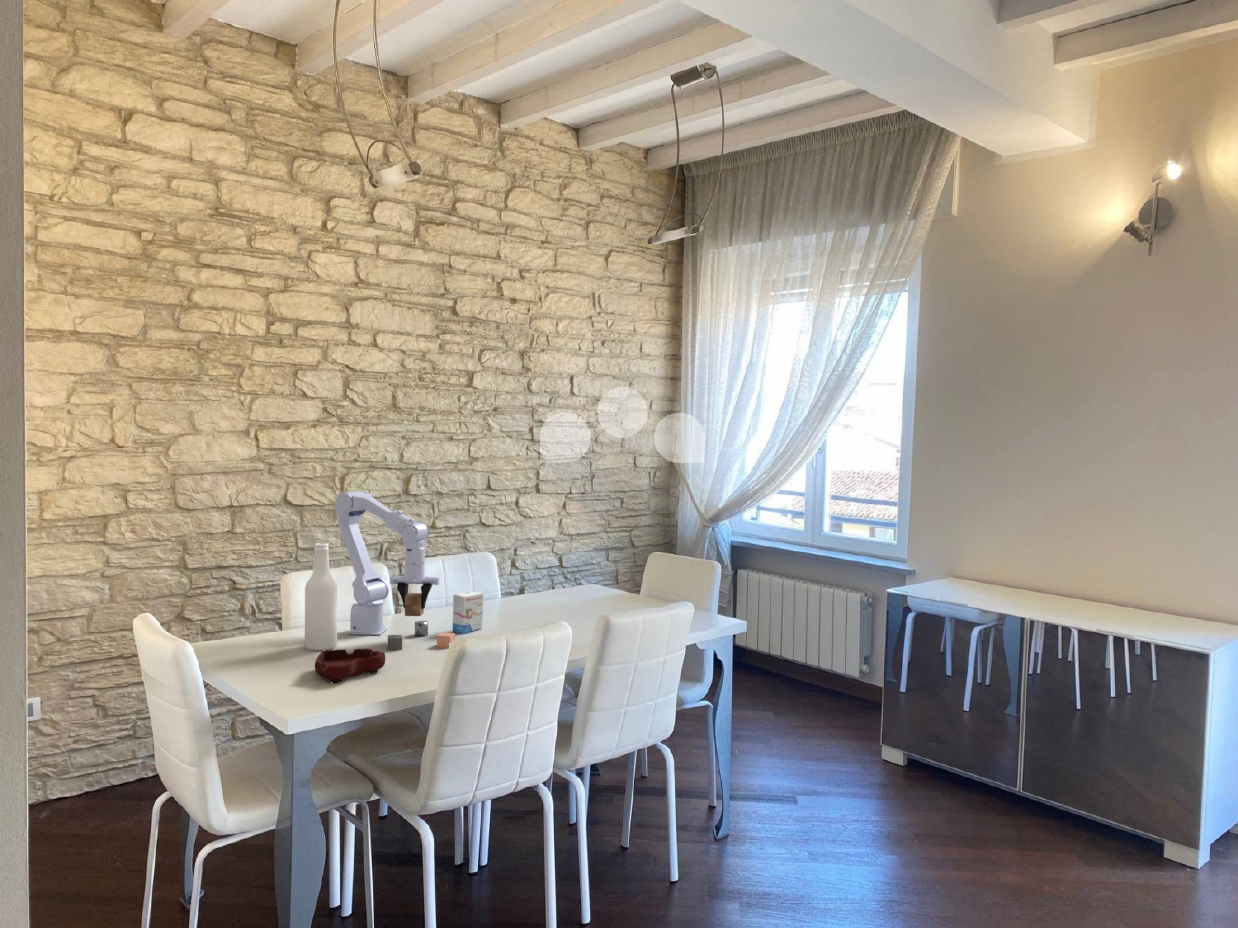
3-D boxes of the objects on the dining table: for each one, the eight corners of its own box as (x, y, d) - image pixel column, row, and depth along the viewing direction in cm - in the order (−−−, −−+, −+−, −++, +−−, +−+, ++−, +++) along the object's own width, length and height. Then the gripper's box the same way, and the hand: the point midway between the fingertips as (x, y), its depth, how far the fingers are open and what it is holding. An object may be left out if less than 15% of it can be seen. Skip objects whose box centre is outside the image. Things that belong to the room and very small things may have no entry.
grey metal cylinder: (413, 636, 270) (413, 623, 270) (416, 633, 274) (416, 620, 274) (426, 636, 270) (426, 623, 270) (429, 633, 274) (429, 620, 274)
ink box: (463, 634, 274) (463, 596, 273) (451, 631, 277) (452, 594, 276) (483, 629, 281) (483, 592, 280) (472, 626, 284) (472, 590, 283)
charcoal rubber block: (387, 650, 253) (387, 638, 253) (387, 647, 257) (387, 635, 257) (402, 650, 254) (402, 637, 254) (401, 646, 258) (402, 634, 258)
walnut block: (404, 615, 264) (404, 595, 264) (408, 612, 269) (408, 592, 268) (420, 616, 264) (420, 596, 264) (423, 612, 269) (423, 593, 268)
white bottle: (299, 650, 251) (300, 545, 249) (311, 643, 259) (311, 541, 258) (330, 651, 250) (331, 546, 249) (341, 643, 259) (341, 541, 258)
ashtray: (350, 661, 242) (350, 643, 242) (391, 671, 233) (391, 652, 233) (294, 676, 227) (294, 657, 227) (335, 688, 218) (335, 668, 218)
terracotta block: (436, 647, 258) (437, 635, 258) (441, 643, 262) (442, 632, 262) (449, 648, 257) (450, 636, 257) (454, 644, 261) (455, 633, 261)
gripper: (387, 564, 262) (386, 610, 262) (436, 565, 262) (435, 611, 262) (393, 560, 269) (393, 605, 269) (441, 561, 269) (440, 606, 269)
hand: (414, 607), depth 266 cm, fingers closed on walnut block, 5 cm apart
